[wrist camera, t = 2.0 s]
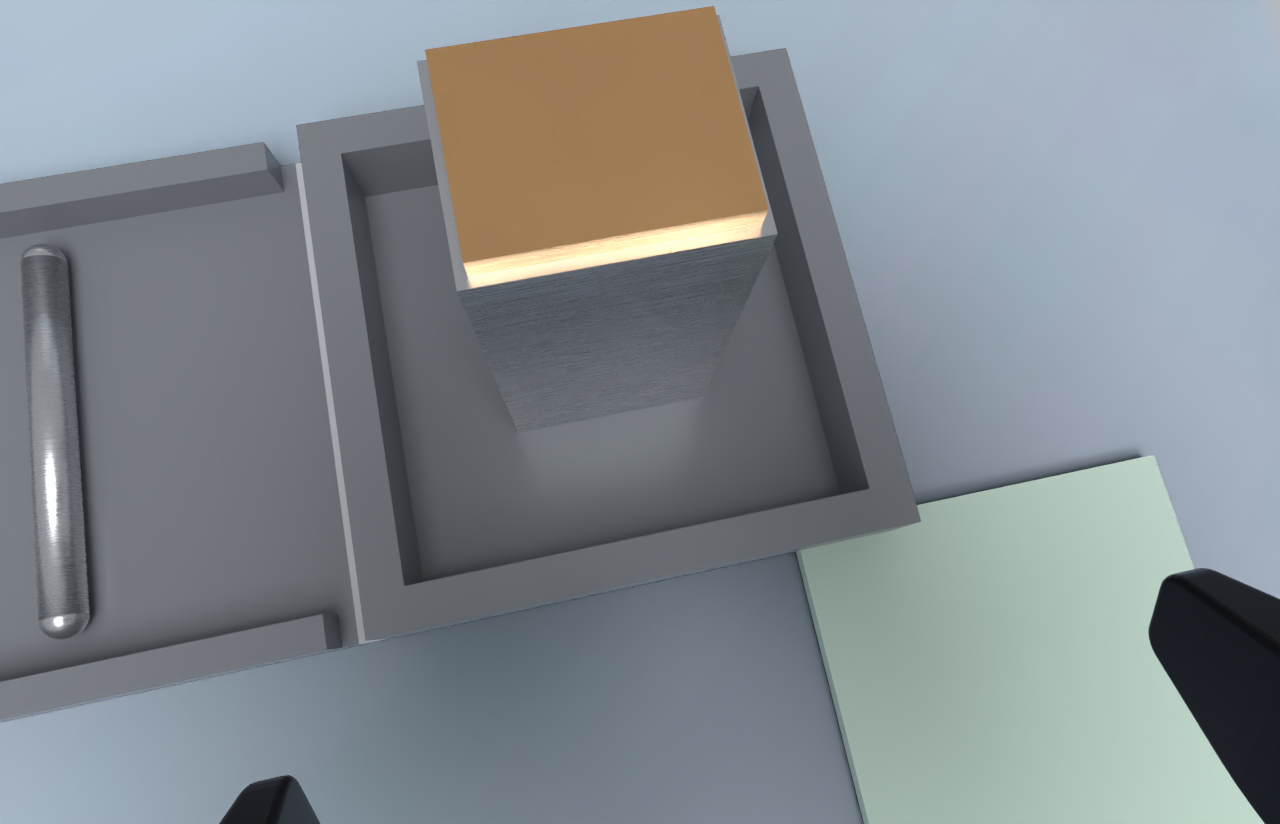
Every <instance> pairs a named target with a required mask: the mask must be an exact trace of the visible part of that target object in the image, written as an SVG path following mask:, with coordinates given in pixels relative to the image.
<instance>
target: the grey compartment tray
mask: <svg viewBox="0 0 1280 824" xmlns="http://www.w3.org/2000/svg"><path fill="white" fill-rule="evenodd" d="M730 58H731V62H732V65H733V69H734V73H735V76H736V80H737V84H738V88H739V91H740V95H741V99H742V103H743V106H744V110H745V114H746V117H747V121H748V125H749V129H750V132H751V136H752V140H753V144H754V147H755V151H756V155H757V158H758V162H759V166H760V170H761V173H762V177H763V181H764V184H765V188H766V192H767V196H768V199H769V203H770V207H771V211H772V214H773V218H774V222H775V225H776V229H777V233H778V234H777V237H776V239H775V241H774V243H773V245H772V247H771V250H770V252H769V254H768V256H767V258H766V260H765V263H764V265H763V267H762V269H761V271H760V273H759V276H758V278H757V280H756V282H755V284H754V286H753V289H752V291H751V293H750V295H749V297H748V299H747V302H746V304H745V306H744V308H743V310H742V312H741V315H740V317H739V319H738V321H737V323H736V325H735V328H734V330H733V332H732V334H731V336H730V338H729V341H728V343H727V345H726V347H725V349H724V351H723V354H722V356H721V358H720V360H719V362H718V365H717V367H716V369H715V371H714V373H713V375H712V378H711V380H710V382H709V384H708V386H707V388H706V391H705V393H704V395H703V397H701V398H696V399H690V400H685V401H680V402H675V403H670V404H665V405H660V406H655V407H649V408H644V409H639V410H634V411H629V412H624V413H619V414H614V415H609V416H603V417H598V418H593V419H588V420H583V421H578V422H573V423H568V424H562V425H557V426H552V427H547V428H542V429H537V430H532V431H527V432H521V433H518V431H517V429H516V427H515V424H514V422H513V420H512V417H511V415H510V413H509V410H508V408H507V406H506V403H505V401H504V399H503V397H502V394H501V392H500V390H499V387H498V385H497V383H496V380H495V378H494V376H493V374H492V371H491V369H490V367H489V364H488V362H487V360H486V357H485V355H484V353H483V350H482V348H481V346H480V344H479V341H478V339H477V337H476V334H475V332H474V330H473V327H472V325H471V323H470V321H469V318H468V316H467V314H466V311H465V309H464V307H463V304H462V302H461V300H460V297H459V295H458V293H457V290H456V284H455V278H454V272H453V267H452V261H451V255H450V249H449V244H448V238H447V232H446V226H445V220H444V215H443V209H442V203H441V197H440V192H439V186H438V180H437V174H436V169H435V163H434V157H433V151H432V145H431V140H430V134H429V128H428V122H427V117H426V111H425V105H421V106H415V107H408V108H402V109H396V110H389V111H383V112H376V113H370V114H364V115H357V116H351V117H345V118H338V119H332V120H326V121H319V122H313V123H307V124H300V125H296V127H297V134H298V141H299V149H300V156H301V163H296V164H290V165H283V166H280V164H279V163H278V161H277V160H276V159H275V157H274V156H273V154H272V153H271V152H270V150H269V149H268V147H267V146H266V144H265V143H264V142H261V143H255V144H249V145H242V146H236V147H230V148H224V149H217V150H211V151H205V152H198V153H192V154H186V155H179V156H173V157H167V158H161V159H154V160H148V161H142V162H135V163H129V164H123V165H116V166H110V167H104V168H98V169H91V170H85V171H79V172H72V173H66V174H60V175H53V176H47V177H41V178H35V179H28V180H22V181H16V182H9V183H3V184H0V722H5V721H10V720H14V719H19V718H24V717H28V716H33V715H38V714H42V713H47V712H52V711H56V710H61V709H66V708H70V707H75V706H80V705H84V704H89V703H94V702H98V701H103V700H107V699H112V698H117V697H121V696H126V695H131V694H135V693H140V692H145V691H149V690H154V689H159V688H163V687H168V686H173V685H177V684H182V683H187V682H191V681H196V680H201V679H205V678H210V677H215V676H219V675H224V674H229V673H233V672H238V671H243V670H247V669H252V668H256V667H261V666H266V665H270V664H275V663H280V662H284V661H289V660H294V659H298V658H303V657H308V656H312V655H317V654H322V653H326V652H331V651H336V650H340V649H345V648H350V647H354V646H359V645H364V644H368V643H372V642H376V641H381V640H386V639H391V638H396V637H401V636H406V635H410V634H415V633H419V632H424V631H429V630H433V629H438V628H443V627H447V626H452V625H457V624H461V623H466V622H471V621H475V620H480V619H485V618H489V617H494V616H499V615H503V614H508V613H513V612H517V611H522V610H527V609H531V608H536V607H541V606H545V605H550V604H555V603H559V602H564V601H569V600H573V599H578V598H582V597H587V596H592V595H596V594H601V593H606V592H610V591H615V590H620V589H624V588H629V587H634V586H638V585H643V584H648V583H652V582H657V581H662V580H666V579H671V578H676V577H680V576H685V575H690V574H694V573H699V572H704V571H708V570H713V569H718V568H722V567H727V566H732V565H736V564H741V563H745V562H750V561H755V560H759V559H764V558H769V557H773V556H778V555H783V554H787V553H792V552H796V551H799V550H803V549H808V548H813V547H817V546H822V545H827V544H831V543H836V542H841V541H845V540H850V539H855V538H859V537H864V536H869V535H873V534H878V533H882V532H887V531H892V530H895V529H899V528H902V527H905V526H909V525H912V524H915V523H918V522H921V518H920V515H919V511H918V508H917V504H916V501H915V497H914V494H913V490H912V487H911V483H910V480H909V476H908V473H907V469H906V466H905V462H904V459H903V455H902V452H901V448H900V445H899V441H898V438H897V434H896V431H895V427H894V424H893V420H892V417H891V413H890V410H889V406H888V403H887V399H886V396H885V392H884V389H883V385H882V382H881V378H880V375H879V372H878V368H877V365H876V361H875V358H874V354H873V351H872V347H871V344H870V340H869V337H868V333H867V330H866V326H865V323H864V319H863V316H862V312H861V309H860V305H859V302H858V298H857V295H856V291H855V288H854V284H853V281H852V277H851V274H850V270H849V267H848V263H847V260H846V256H845V253H844V249H843V246H842V242H841V239H840V235H839V232H838V228H837V225H836V221H835V218H834V214H833V211H832V207H831V204H830V200H829V197H828V193H827V190H826V186H825V183H824V179H823V176H822V172H821V169H820V165H819V162H818V158H817V155H816V151H815V148H814V144H813V141H812V137H811V134H810V130H809V127H808V123H807V120H806V116H805V113H804V109H803V106H802V102H801V99H800V95H799V92H798V88H797V85H796V81H795V78H794V74H793V71H792V67H791V64H790V60H789V57H788V53H787V50H786V48H783V49H777V50H770V51H764V52H758V53H751V54H745V55H738V56H732V57H730ZM36 244H47V245H51V246H54V247H56V248H57V249H59V250H60V251H61V252H62V253H63V254H64V255H65V257H66V259H67V263H68V276H69V292H70V308H71V324H72V339H73V355H74V371H75V386H76V402H77V418H78V434H79V449H80V465H81V481H82V497H83V512H84V528H85V544H86V559H87V575H88V591H89V607H90V618H89V622H88V624H87V626H86V627H85V629H84V630H83V631H82V632H81V633H79V634H78V635H76V636H74V637H72V638H69V639H63V640H58V639H53V638H50V637H48V636H46V635H45V634H44V633H43V632H42V631H41V629H40V627H39V623H38V609H37V589H36V569H35V549H34V529H33V509H32V489H31V469H30V449H29V429H28V409H27V389H26V369H25V349H24V329H23V309H22V289H21V269H20V259H21V256H22V253H23V252H24V251H25V250H26V249H27V248H28V247H30V246H33V245H36Z"/></svg>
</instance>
